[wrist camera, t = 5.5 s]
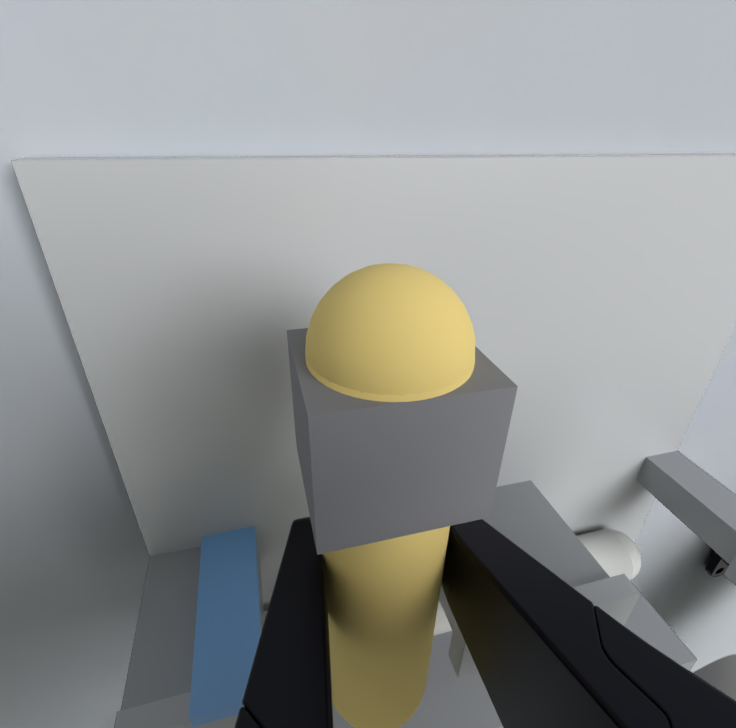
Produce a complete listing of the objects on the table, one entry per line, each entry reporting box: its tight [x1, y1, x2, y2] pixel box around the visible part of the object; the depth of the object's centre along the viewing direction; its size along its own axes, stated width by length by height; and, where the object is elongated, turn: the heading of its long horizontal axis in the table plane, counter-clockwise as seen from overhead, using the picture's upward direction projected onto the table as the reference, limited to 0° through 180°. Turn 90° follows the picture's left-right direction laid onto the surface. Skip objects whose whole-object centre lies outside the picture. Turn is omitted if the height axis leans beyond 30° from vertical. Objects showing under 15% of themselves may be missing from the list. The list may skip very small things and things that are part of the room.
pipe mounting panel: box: [11, 154, 736, 728], centre depth 13 cm, size 19×18×5 cm
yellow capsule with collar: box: [287, 263, 518, 728], centre depth 8 cm, size 11×3×2 cm, turn 179°
